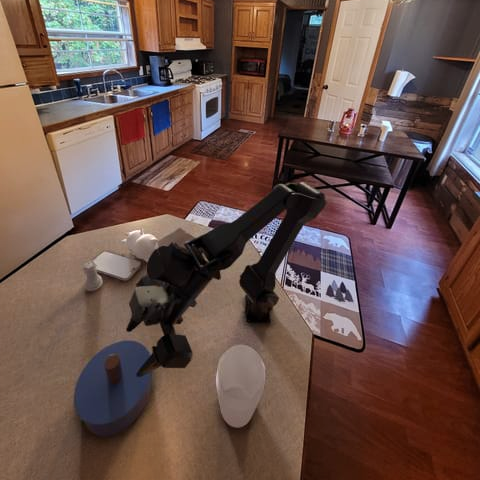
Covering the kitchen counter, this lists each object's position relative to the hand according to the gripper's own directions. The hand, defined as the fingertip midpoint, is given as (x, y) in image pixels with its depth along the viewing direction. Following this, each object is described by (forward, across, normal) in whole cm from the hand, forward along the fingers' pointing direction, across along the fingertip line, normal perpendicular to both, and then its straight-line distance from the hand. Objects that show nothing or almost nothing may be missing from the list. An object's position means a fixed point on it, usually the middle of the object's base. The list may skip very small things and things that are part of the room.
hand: (132, 351), depth 49 cm
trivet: (-7, -32, +22) cm, 39 cm away
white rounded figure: (-1, -42, +9) cm, 43 cm away
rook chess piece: (+11, -30, +4) cm, 32 cm away
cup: (-4, +14, +18) cm, 24 cm away
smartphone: (+7, -35, +8) cm, 36 cm away
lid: (+6, 0, +1) cm, 6 cm away
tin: (+10, 0, +5) cm, 11 cm away
